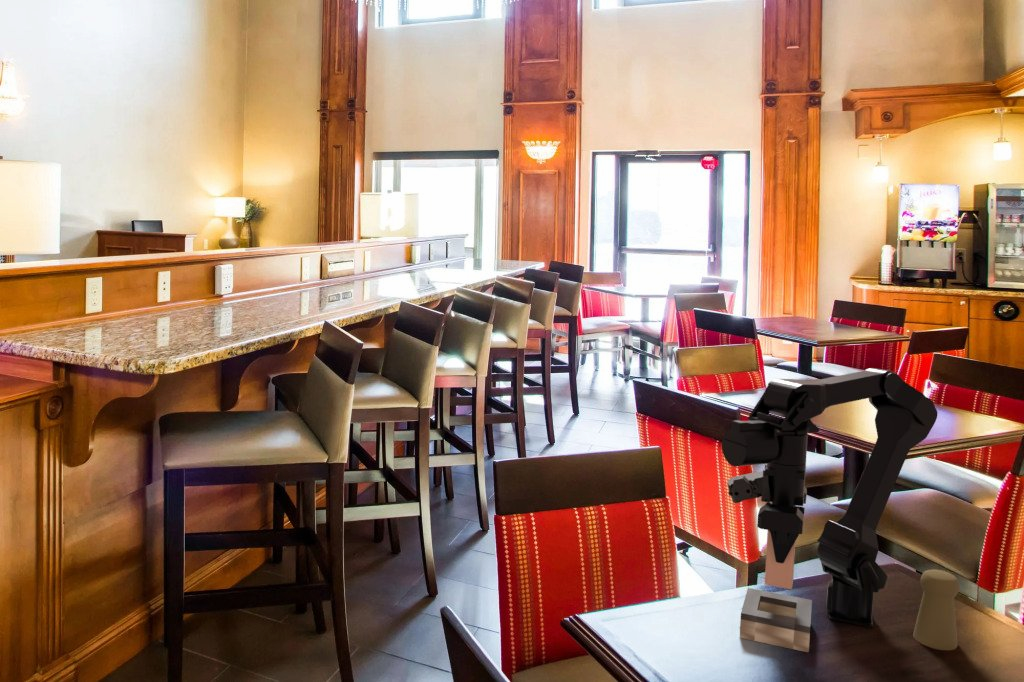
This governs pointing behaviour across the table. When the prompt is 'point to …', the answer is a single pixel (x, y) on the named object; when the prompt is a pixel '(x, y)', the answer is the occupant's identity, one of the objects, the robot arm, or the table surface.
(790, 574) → the square peg
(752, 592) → the socket block
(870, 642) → the table surface
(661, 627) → the table surface
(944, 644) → the beige pepper mill
